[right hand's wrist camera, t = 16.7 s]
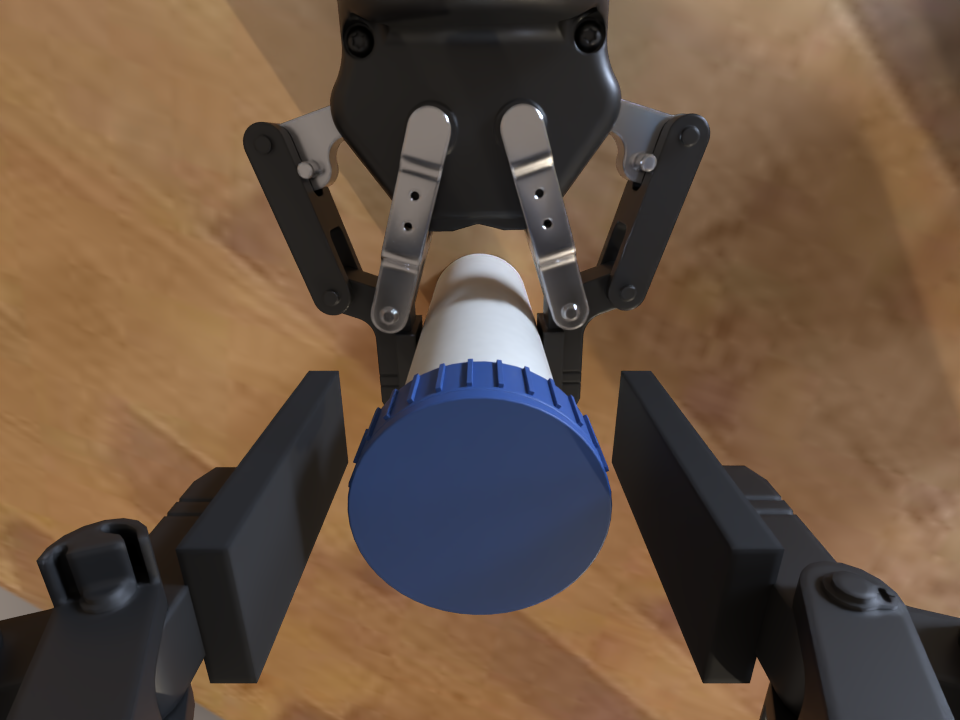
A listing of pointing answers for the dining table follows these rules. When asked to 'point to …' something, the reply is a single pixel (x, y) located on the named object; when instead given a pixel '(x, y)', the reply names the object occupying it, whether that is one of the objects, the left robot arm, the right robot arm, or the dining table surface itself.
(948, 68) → the dining table surface
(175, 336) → the dining table surface
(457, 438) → the lid
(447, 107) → the left robot arm
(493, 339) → the jar
